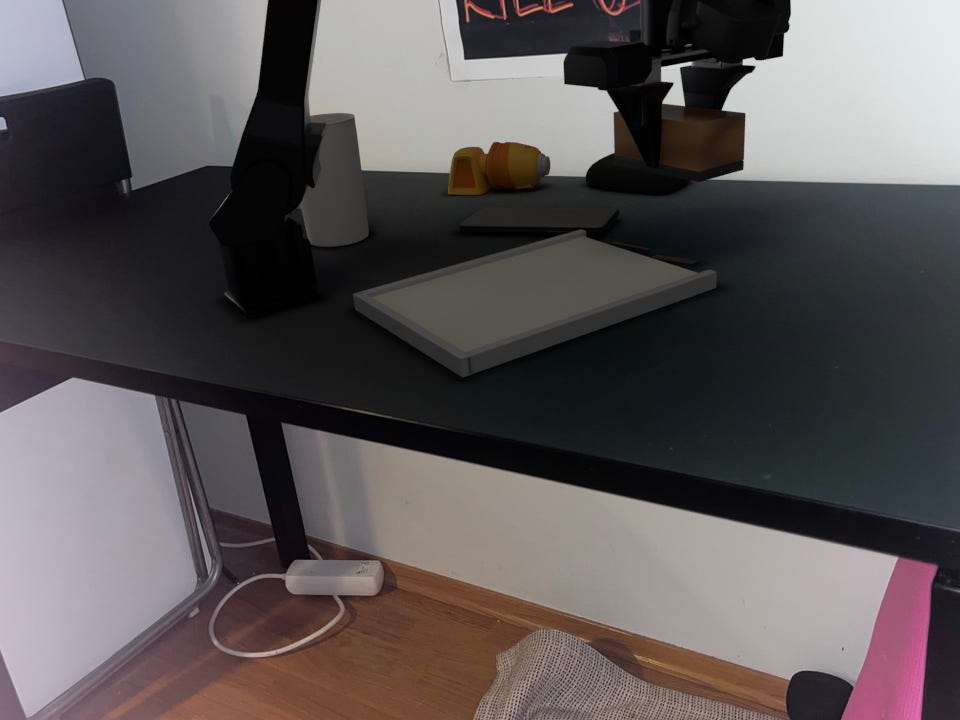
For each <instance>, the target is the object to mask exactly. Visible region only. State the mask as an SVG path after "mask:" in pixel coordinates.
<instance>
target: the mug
mask: <svg viewBox="0 0 960 720" xmlns="http://www.w3.org/2000/svg"><path fill="white" fill-rule="evenodd" d="M310 121H311V123H326V124H327V127H326V130H325V133H324V136H323V139H322V142H321V145H320V149H319V161H320V165H321V171H320V174H319V177H318V180H317V182H316V185H315V188H310V187H309V186H308V187H307V190H306V192H305V195H304V197H303V200H302V202H301V203H300V205H299V206H298V207H297V208H296V209H295V210H300V211H301V213H302V217H303V223H304V227H305V228H304V229H305V232H306V236H307V237H306V238H307V239H309V240H310V245H311V246H314V247H319V248H335V247H336V248H337V247H343V246H348V245H352V244H355V243H356V244H357V243H359V242H362V241H363V240H365V239H367V238H368V237H369V234H370V230H369V220H368V211H367V202H366V195H365V187H364V186H365V185H364V179H363V171H362V163H361V155H360V146H359V138H358V131H357V125H356V116H355V115H354V114H353V113H349V112H333V113H331V112H330V113H321V114H320V113H319V114H312V115H310Z"/></svg>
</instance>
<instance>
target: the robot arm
mask: <svg viewBox="0 0 960 720" xmlns="http://www.w3.org/2000/svg"><path fill="white" fill-rule="evenodd" d="M791 1H792V0H639V28H636V29H630V30H629V32H628V33H629V41H625V40H623V41H622V40H621V41H620V40H602V41H595V42H588V43H583V44H575V45H571V46H570V48H569V50H568V51H567V53H566V55H565V56H564V59H563V63H562V64H563V83H564V85H568V86H575V87H577V86H578V87H588V88H597V90H598V91H604V92H606V93H607V94H608V96H609V98H610V100H611V102H613V104H614V106H615V107H616V109H617V111H619V112H620V114H621V116H622V117H623V119H624V121H625V123H626V125H627V127H628V129H629V131H630V133H631V135H632V137H633V139H634V142H635V144H636V146H637V148H638V150H639V152H640V154H641V156H642V158H643V160H644V162H645V164H646V166H647V167H650V168H657V167H658V166H659V158H660V150H661V120H662V104H664V103H663V102H664V100H665V99H666V97H667V95H668V94H669V93H670V91H671V89H672V88H673V86H674V82H672V81H662V68H665V67H671V66H676V65H682V64H686V63H691V65H685V66H680V67H679V72H680V81H681V87H682V94H683V101H684V106H688V107H697V108H706V109H715V110H723V108H724V106H725V103H726V101H727V99H728V97H729V95H730V92H731V91H732V89H733V87H735V86H736V85H737V84H738V83H739V82H740V81H741V80H742V79H743V78H744V77H746V76H747V75H748V74H752V73H753V72H754V71H755V70H756V68H757V67H756V65H750V64H744V60H748V59H754V60H755V61H759V62H760V61H761V62H762V61H766V60H767V61H768V60H771V59H779V58H782V57H784V48H785V47H784V46H785V34H787V33H788V32H789V30H790V26H791V25H790V22H789V21H790V19H791V15H792V8H791V7H792V2H791ZM266 4H267V5H266V12H265V13H266V14H265V22H264V31H263V40H262V49H261V58H260V64H259V65H260V67H259V75H258V83H257V84H258V85H257V90H256V94H255V97H254V101H253V103H252V106H251V109H250V112H249V114H248V117H247V120H246V123H245V125H244V129H243V131H242V134H241V137H240V140H239V143H238V147H237V151H236V154H235V156H234V160H233V164H232V166H231V169H230V170H231V171H230V176H229V180H230V181H229V182H230V188H231V191H230V192H229V194H228V195H227V196H226V198H225V199H224V200H223V202H222V203H221V204H220V206H219V208H218V209H217V210H216V212H215V213H214V214H213V216H212V217H211V218H210V220H209V222H208V226H209V228H210V229H211V231H212V233H213V234H214V236H215V237H216V239H217V242H218V247H219V250H220V256H221V260H222V264H223V269H224V273H225V278H226V283H227V287H228V290H227V291H226V292H224V298H225V300H226V301H227V302H228V303H230V304H231V305H232V306H233V307H235V308H236V309H237V310H238V311H240V312H241V313H242V314H243V315H244V316H245V317H249V318H253V317H257V316H259V315H263V314H266V313H270V312H274V311H277V310H281V309H285V308H288V307H291V306H295V305H299V304H302V303H306V302H310V301H313V300H317V299H320V298H321V291H320V290H319V289H317V288H316V287H315V286H316V285H317V283H318V280H317V279H318V278H317V273H316V268H315V262H314V256H313V251H312V244H310V240H309V239H308V237H306V236H304V234H303V229H302V228H303V227H302V224H301V223H300V222H299V221H297V220H294V219H293V218H291V217H290V215H291V214H292V213H293V211H294V210H297V209H296V208H297V207H298V206H299V205H300V203H301V202H302V200H303V197H304V195H305V192H306V190H307V187H308V186H309V187H310V188H315V185H316V182H317V180H318V177H319V174H320V171H321V165H320V161H319V149H320V145H321V142H322V139H323V136H324V133H325V130H326V127H327V124H326V123H311V121H310V116H311V113H310V112H311V111H310V98H309V95H310V94H309V93H310V85H311V78H312V77H311V76H312V71H313V64H314V56H315V48H316V42H317V35H318V26H319V19H320V12H321V5H322V0H267V3H266Z"/></svg>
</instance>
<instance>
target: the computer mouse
mask: <svg viewBox="0 0 960 720" xmlns="http://www.w3.org/2000/svg"><path fill="white" fill-rule="evenodd" d="M585 182H586V184H587V185H588V186H590V187H596V188H601V189H608V190H616V191H624V192H632V193H633V192H634V193H643V194H660V195H661V194H667V193H669V192H673V191H676V190H677V189H679V188H681V187H684V186H685V185H687V184H688V183H689V182H691V181H690V180H685V179H681V178H676V177H671V176H666V175H661V174H656V173H652V172H647V171H642V170H637V169H632V168H627V167H622V166H618V165H615V152H613V153H610V154H607V155H606V156H604V157H601V158H600V159H598V160H596V161H595V162H594V163H592V164H591V165H590V166H589V168H588V169H587V171H586V173H585Z"/></svg>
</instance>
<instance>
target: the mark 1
mask: <svg viewBox="0 0 960 720" xmlns="http://www.w3.org/2000/svg"><path fill="white" fill-rule="evenodd" d="M610 245H612V246H615V247H618V248H621V249H624V250H628V251H631V252H634V253H637V254H640V255H643V256H646V257H650V258H651V248H647V247H644V246H639V245H633V244H628V243H623V242H619V241H618V242H617V241H611V242H610Z"/></svg>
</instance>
